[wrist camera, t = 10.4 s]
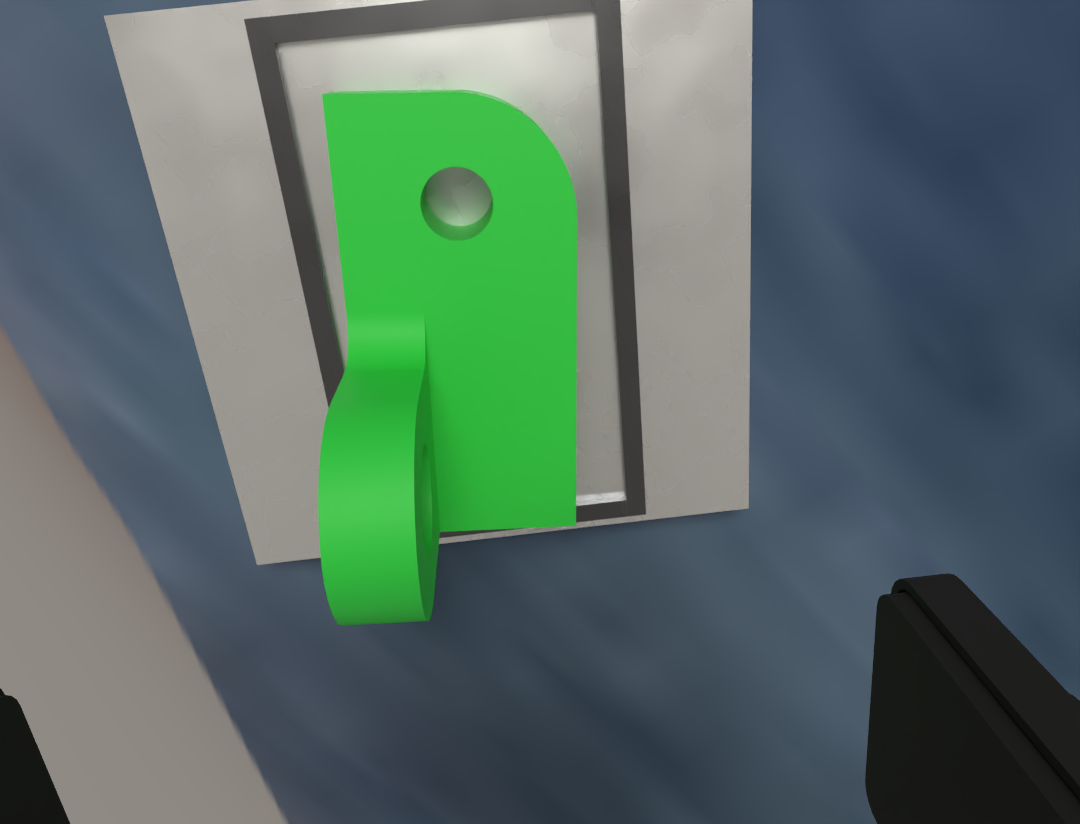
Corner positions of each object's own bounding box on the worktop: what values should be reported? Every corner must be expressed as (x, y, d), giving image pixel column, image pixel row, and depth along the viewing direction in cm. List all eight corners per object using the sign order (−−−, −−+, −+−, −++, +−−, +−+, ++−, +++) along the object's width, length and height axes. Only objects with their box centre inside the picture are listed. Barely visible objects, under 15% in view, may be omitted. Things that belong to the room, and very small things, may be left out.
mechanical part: (569, 492, 26) (603, 663, 19) (379, 501, 26) (337, 677, 18) (569, 87, 21) (613, 102, 14) (336, 91, 21) (256, 108, 14)
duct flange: (735, 486, 28) (751, 512, 26) (268, 540, 28) (254, 570, 26) (735, -44, 22) (756, -53, 20) (128, 18, 21) (98, 15, 20)
